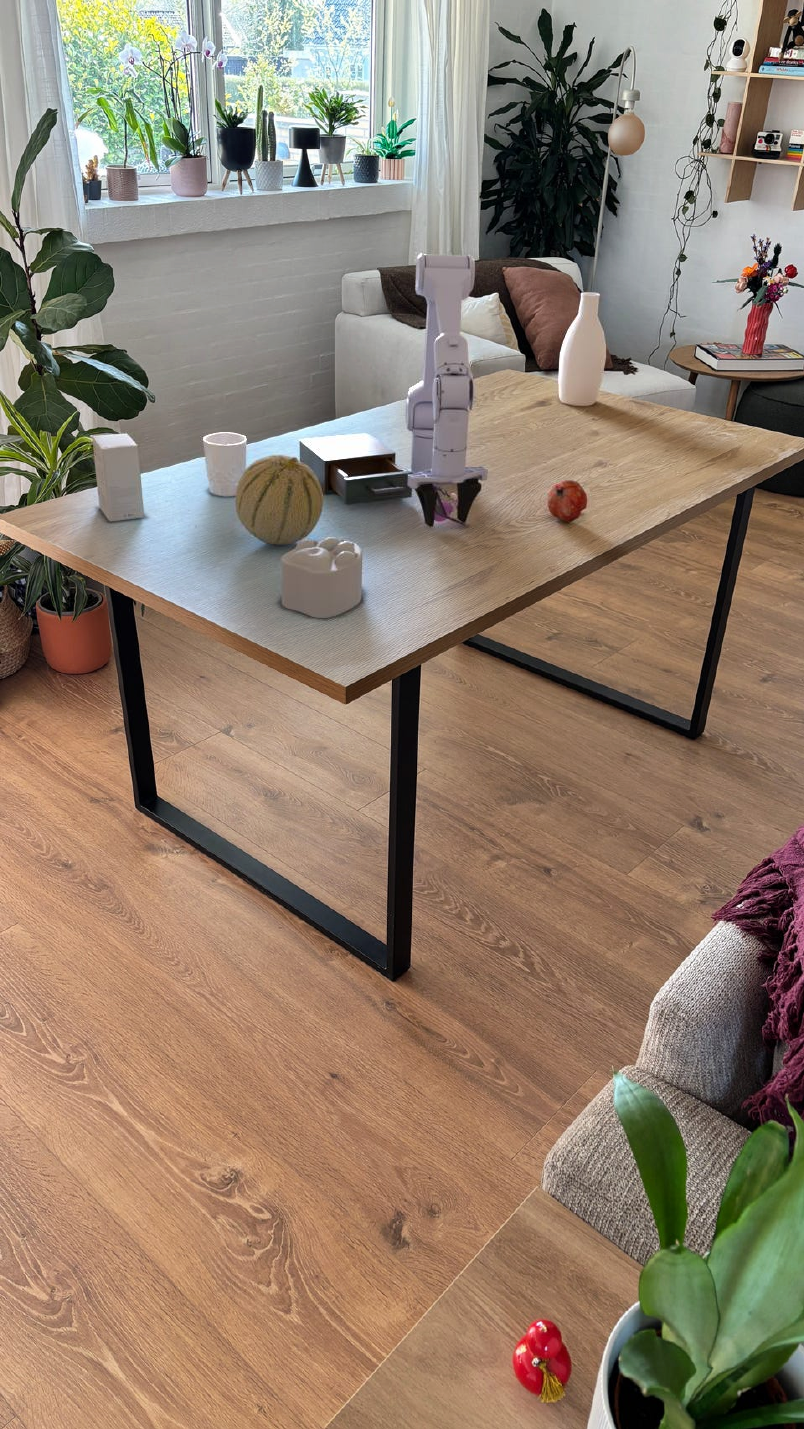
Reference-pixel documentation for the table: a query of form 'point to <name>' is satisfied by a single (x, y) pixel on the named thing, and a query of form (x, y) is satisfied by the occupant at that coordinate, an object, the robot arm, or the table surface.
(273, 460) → the cantaloupe
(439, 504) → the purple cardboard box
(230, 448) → the white cup
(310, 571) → the lumpy-topped squat cylinder
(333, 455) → the cabinet
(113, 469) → the small box
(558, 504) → the pomegranate
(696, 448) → the table surface
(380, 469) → the drawer
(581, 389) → the bottle
